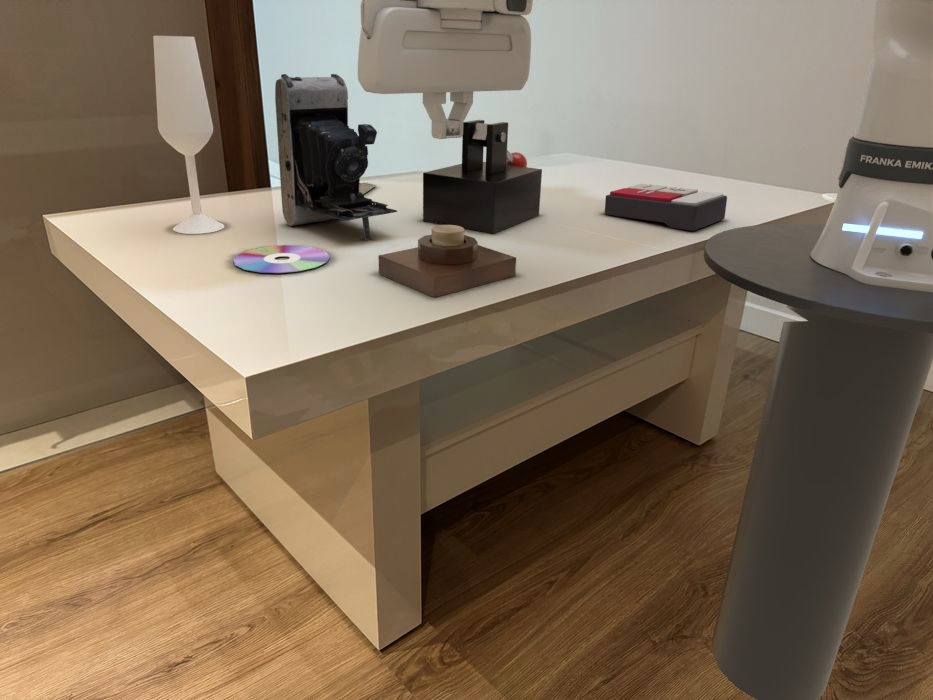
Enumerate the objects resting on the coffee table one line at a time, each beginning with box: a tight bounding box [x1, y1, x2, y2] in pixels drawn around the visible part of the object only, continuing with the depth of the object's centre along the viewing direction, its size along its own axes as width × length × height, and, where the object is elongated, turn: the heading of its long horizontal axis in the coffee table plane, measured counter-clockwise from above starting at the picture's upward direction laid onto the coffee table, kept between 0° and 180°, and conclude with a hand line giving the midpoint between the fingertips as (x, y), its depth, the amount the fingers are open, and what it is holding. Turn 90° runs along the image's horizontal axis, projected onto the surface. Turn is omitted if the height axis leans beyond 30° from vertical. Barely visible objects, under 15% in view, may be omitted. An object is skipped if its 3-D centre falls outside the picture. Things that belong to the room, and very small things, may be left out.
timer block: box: [377, 233, 517, 298], centre depth 79 cm, size 12×10×4 cm
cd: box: [232, 244, 331, 274], centre depth 84 cm, size 11×11×1 cm
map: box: [359, 182, 377, 195], centre depth 117 cm, size 5×20×1 cm, turn 169°
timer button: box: [431, 224, 465, 246], centre depth 78 cm, size 4×4×2 cm
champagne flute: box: [152, 35, 225, 235], centre depth 92 cm, size 7×7×24 cm
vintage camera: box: [274, 73, 398, 241], centre depth 93 cm, size 10×16×20 cm, turn 42°
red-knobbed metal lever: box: [472, 122, 528, 167], centre depth 106 cm, size 14×4×4 cm, turn 147°
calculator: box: [604, 183, 728, 232], centre depth 108 cm, size 11×4×15 cm
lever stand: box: [422, 119, 543, 235], centre depth 103 cm, size 14×12×14 cm
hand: (447, 137), depth 74 cm, fingers closed
